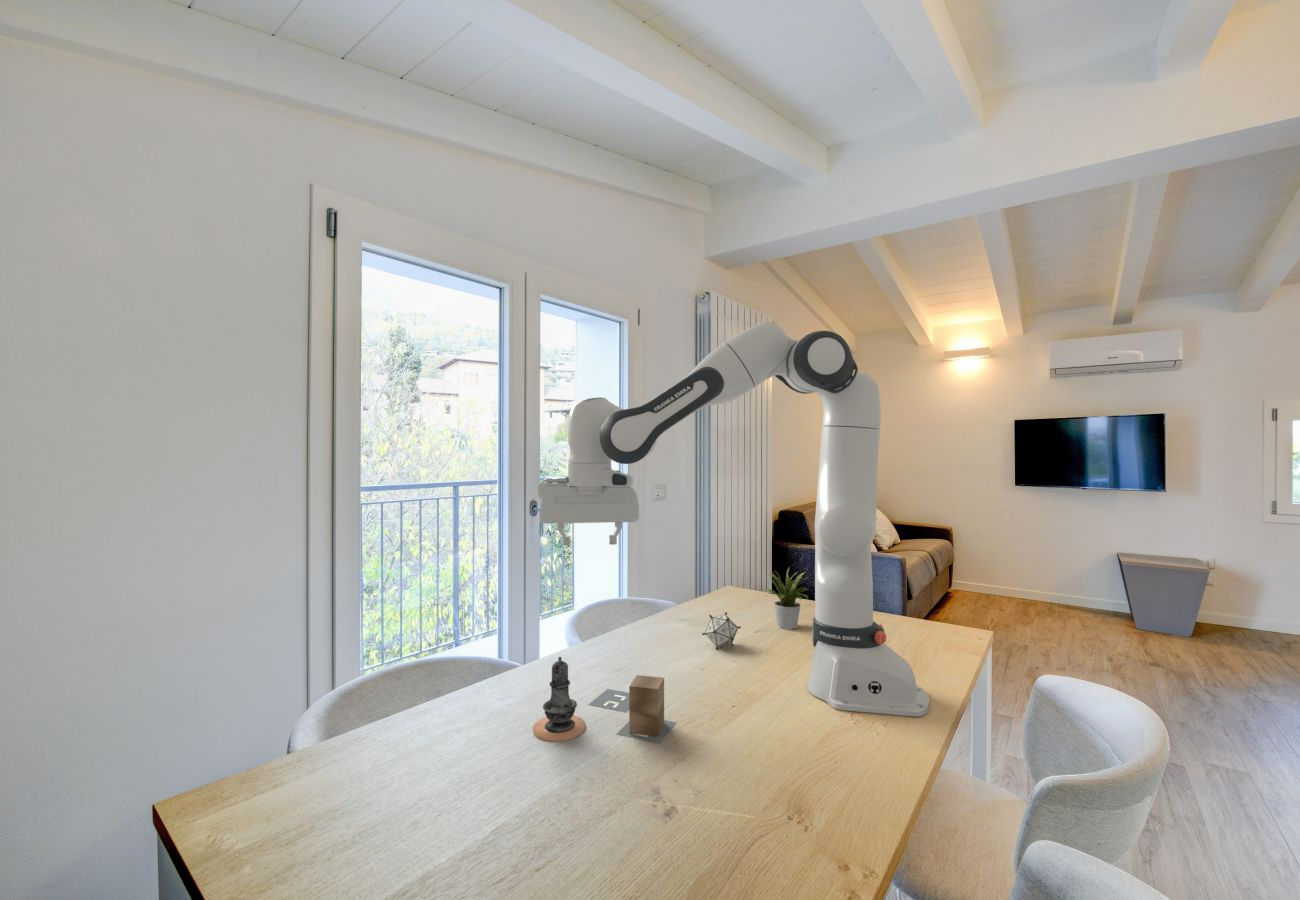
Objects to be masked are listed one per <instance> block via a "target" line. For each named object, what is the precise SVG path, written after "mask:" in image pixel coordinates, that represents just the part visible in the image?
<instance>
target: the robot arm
mask: <svg viewBox="0 0 1300 900" xmlns="http://www.w3.org/2000/svg"><path fill="white" fill-rule="evenodd" d="M858 370H859V368H858V365H857V363H856V360H855V359H854V357H853V354H852V351H851V349H850V347H849V344H848V342H847V341H846V339H845V338H844V337H842V336H841V335H840V334H839V333H836V332H834V331H829V330H817V331H813V332H810V333H808V334H806V335H805V336H803V337H802V338H799V340H797V339H793V338H791V337H789V336H788V335H787V333H786V332H785V331H784V330H783V328H782V327H780V326H779V325H777V323H776V324H775V323H773V322H771V321H763V322H762V321H761V322H760V323H757V324H755V325H753V326H751V327H748V328H746V329H745V330H742V331H741V332H739V333H737V334H735V335H733V336H732V337H730V338H729V339H727V340H726V341H724V342H723V343H721V344H720V345H719V346H717V347H716V348H714V349H713V350H712V351H710V352H709V353H708V354H707V355H706V356H705V357H704V358H702V359H701V360H700V361H699V363H698V364H697V365H695V367H694V368H693V369H692V370H691V371H690V372H689V373H688V374H687V375H686V376H685V377H684V378H683V379H682V380H680V381H678V382H677V383H675V384H674V385H672V386H671V387H670V388H667V389H666V390H664V392H662V393H660V394H658V395H657V396H655V397H654V398H652V399H651V400H650V401H648V402H647V403H644V404H642V405H641V406H636V407H632V408H627V409H626V408H624V409H623V408H621V407H620V406H617V405H616V404H614V403H613V402H611V401H609V400H608V399H607V398H606V397H599V396H598V397H590V398H585V399H581V400H579V401H577V402H575V403H574V404H573V405H572V406H571V409H570V411H569V418H568V429H567V430H568V431H567V438H568V439H567V442H568V446H569V457H568V462H567V469H568V471H567V475H568V476H567V477H566V476H565V477H563V476H562V477H561V476H560V477H546V478H545V479H543V480H542V481H540V482H539V483H538V488H537V489H538V497H539V498H540V499H541V500H540V501H541V502H540V508H539V521H541V523H542V524H557V531H558V532H559V534H560V536H561V537H562V546H565V547H566V546H571V535H567V534H566V533H565V530H564V529H565V528H566V524H590V523H592V524H593V523H595V524H597V523H598V524H600V523H603V524H605V523H607V524H608V523H614V527H615V531H614V532H613V533H612V534H609V536H608V538H609V540H608V541H609V542H608V543H609V545H617V543H618V542H617V538H618V535H619V534H620V532H621V530H622V529H623V523H636V522H637V521H638V520H639V518H640V507H639V501H638V500H639V499H638V495H637V492H636V490H635V489H634V488H633V487H632V485H633V484H634V483H633V482H634V478H633V476H632V475H630V474H628V473H624V472H621V470H615V469H612V461H613V462H615V463H618V464H623V465H631V464H634V463H635V464H636V463H637V462H639V461H641V460H643V459H645V458H647V457H648V456H649V455H651V453H652V452H653V451H654V449H655V448H656V444H657V440H658V439H659V437H660V436H661V435H662V434H663V433H665V432H666V431H667V430H669V429H670V428H672V427H673V426H675V425H676V424H678V423H680V422H681V421H683V420H684V419H685V418H687V417H689V416H690V415H692V414H694V413H695V412H696V411H700V410H701V409H703V408H706V407H710V406H716V405H724V404H726V403H729V402H732V401H733V400H736V399H738V398H740V397H741V396H744V395H745V394H747V393H749V392H751V391H752V390H754V389H755V388H757V387H758V386H759V385H760V384H762V383H764V382H765V381H766V380H769V379H770V378H772V377H773V378H774V377H775V378H777V379H778V381H779V380H780V381H781V383H783V384H784V385H785V386H787V388H789V389H791V390H792V391H794V392H795V393H799V394H805V395H806V394H808V395H809V394H814V393H817V395H818V396H819V398H820V400H821V404H822V410H823V412H822V413H823V415H822V422H821V424H822V425H821V433H820V434H821V435H820V449H819V450H820V451H819V462H818V463H819V465H818V476H817V487H816V488H817V489H816V490H817V491H816V500H815V501H816V503H815V515H814V516H815V517H814V534H815V535H814V536H815V537H814V540H815V541H814V545H815V546H814V547H815V549H814V551H815V552H814V554H815V555H814V559H815V560H814V591H815V592H814V611H815V612H814V615H815V616H814V617H813V619H812V625H811V626H812V630H811V632H812V634H811V635H812V637H811V638H812V645H813V655H812V656H813V657H812V663H811V668H810V673H809V676H808V681H807V684H806V688H807V690H808V692H809V693H810V694H812V695H813V696H815V697H817V698H818V699H820V700H823V701H824V702H827V703H828V704H829V706H831V707H833V708H834V709H836V710H840V711H848V712H849V711H850V712H860V713H870V714H882V715H883V714H884V715H894V716H895V715H896V716H905V717H907V716H908V717H917V718H918V717H922V716H924V715H925V714H927V713H928V712H929V710H930V700H929V696H928V694H927V691H926V690H925V689H924V688H922V686H920V685H919V684H917V683H916V682H917V681H916V677H915V674H914V670H913V668H912V667H911V665H910V663H909V662H908V661H907V660H906V659H905V658H904V657H902V656H901V655H900V654H899V653H897V652H896V651H895V650H893V648H891V647H889V646H888V645H887V644H886V641H887V635H886V633H885V628H883V624H881V623H880V624H878V623H876V621H874V579H873V578H874V577H873V565H872V564H873V562H872V543H873V541H874V538H875V537H876V536H875V535H876V524H877V497H878V496H877V495H878V465H879V464H878V463H879V462H878V461H879V452H880V451H879V447H880V435H881V430H880V429H881V416H882V415H881V397H880V391H879V384H878V383H877V381H876V380H875V379H874V378H873V377H872V376H870V375H868V374H867V373H866V374H865V373H863V372H858Z"/></svg>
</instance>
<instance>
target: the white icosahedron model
mask: <svg viewBox="0 0 1300 900" xmlns="http://www.w3.org/2000/svg"><path fill="white" fill-rule="evenodd" d="M709 618H710V619H709V623H708V625H707V627H706V630H705V632H702V633H701V635H702V636H707V638H708V639H709V640H710V641H711V642H712V643H713V644H714V645H715V646H716V647H715V650H716V649H717V650H719V647H723V646H724V647H725V646H729V645H731V647H733V646H734V647H735V644H733V643H734V640H735V637H736V635H737V632H738V629H741V628H742V626H740V625H739V626H738V625H737V624H736V623H734V622H733V620H732V619H731V618H730V617H729V616H728V612H727V611H726V612H724V614H723V615H722V614H721V615H715V616H712V615H711V614H709Z"/></svg>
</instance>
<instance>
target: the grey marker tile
mask: <svg viewBox="0 0 1300 900" xmlns="http://www.w3.org/2000/svg"><path fill="white" fill-rule="evenodd" d="M587 706H591V707H595V708H601V709H607V710H610V711H611V710H612V711H616V712H620V713H628V712H629V692H627V691H621V690H615V689H612V688H611V689H609V688H606V689H605V690H604V691H603V692H602V693H600V694H599V695H597V697H595V698H594V699H593V700H592V701H591V702H589V703H588V704H587Z"/></svg>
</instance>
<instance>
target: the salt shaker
mask: <svg viewBox="0 0 1300 900" xmlns="http://www.w3.org/2000/svg"><path fill="white" fill-rule="evenodd" d="M562 659H563V658H562V657H561V656H559V657H558V658H557V661H555V662H554V663H552V666H551V681H550V682H549V686H550V687H551V693H550V699H549V700H547V701H545V702H544V703H543V705H542V709H543V710H544V714H545V717H547V718H548V719H549V721H548V722H547V723H546V724H545V729H546V730H547V731H549V732H552V733H564V732H567V731H570V730H572V729H573V728H574V727H575V722H574V721H573V720H572V719H571V717H572V716H573V715H574V714H575V711H576V708H577V706H578V704H577V701H576V700H575V699H573V698H570V696H569V689H570V688H569V687H570V685H571V681H570V680H569V665H568V663H567V662H566V661H563V660H562Z"/></svg>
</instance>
